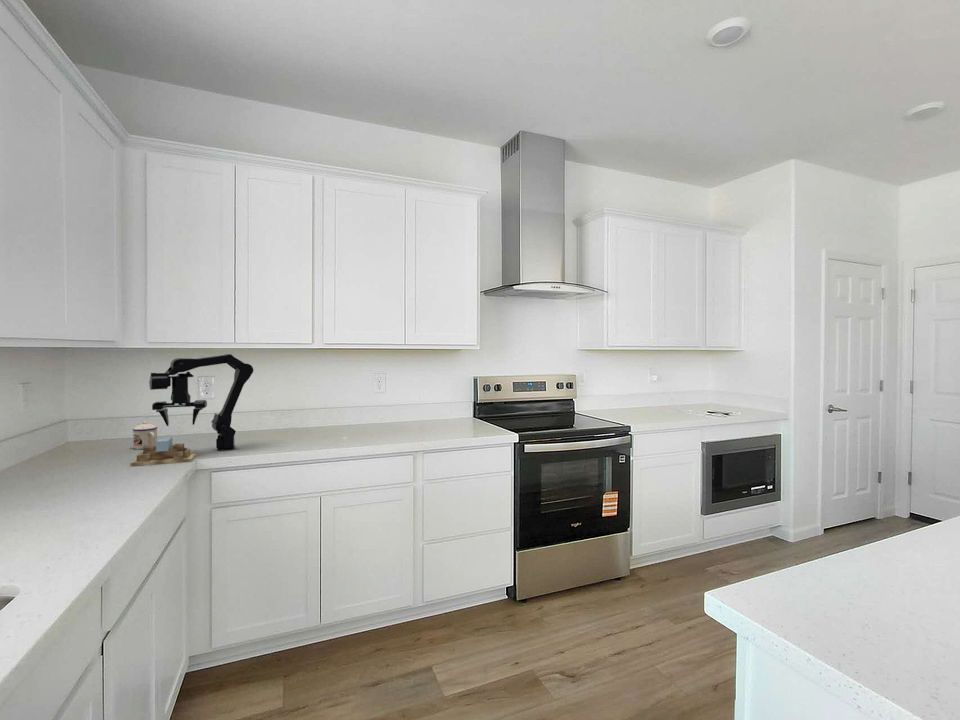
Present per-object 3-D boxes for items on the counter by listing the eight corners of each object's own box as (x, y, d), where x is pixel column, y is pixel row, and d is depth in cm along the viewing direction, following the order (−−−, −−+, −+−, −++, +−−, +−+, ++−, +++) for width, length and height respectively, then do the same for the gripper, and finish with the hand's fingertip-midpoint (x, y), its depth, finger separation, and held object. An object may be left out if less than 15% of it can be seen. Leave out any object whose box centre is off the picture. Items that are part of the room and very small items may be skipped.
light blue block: (172, 446, 189) (172, 437, 189) (168, 450, 182) (168, 440, 182) (161, 447, 188) (160, 437, 187) (156, 451, 181) (155, 441, 181)
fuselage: (184, 455, 189) (184, 443, 189) (182, 457, 185) (182, 445, 185) (146, 458, 184) (145, 445, 184) (143, 460, 181) (142, 447, 180)
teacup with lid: (128, 448, 207) (128, 422, 207) (151, 444, 215) (150, 419, 215) (142, 451, 201) (142, 424, 201) (165, 447, 209) (164, 421, 209)
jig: (195, 456, 193) (195, 446, 193) (191, 461, 184) (191, 451, 184) (137, 460, 185) (137, 450, 185) (130, 466, 177) (130, 455, 177)
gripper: (208, 385, 205) (209, 421, 206) (158, 387, 198) (159, 423, 199) (204, 388, 195) (205, 425, 195) (151, 389, 188) (152, 428, 188)
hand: (180, 425), depth 195 cm, fingers open, 9 cm apart
